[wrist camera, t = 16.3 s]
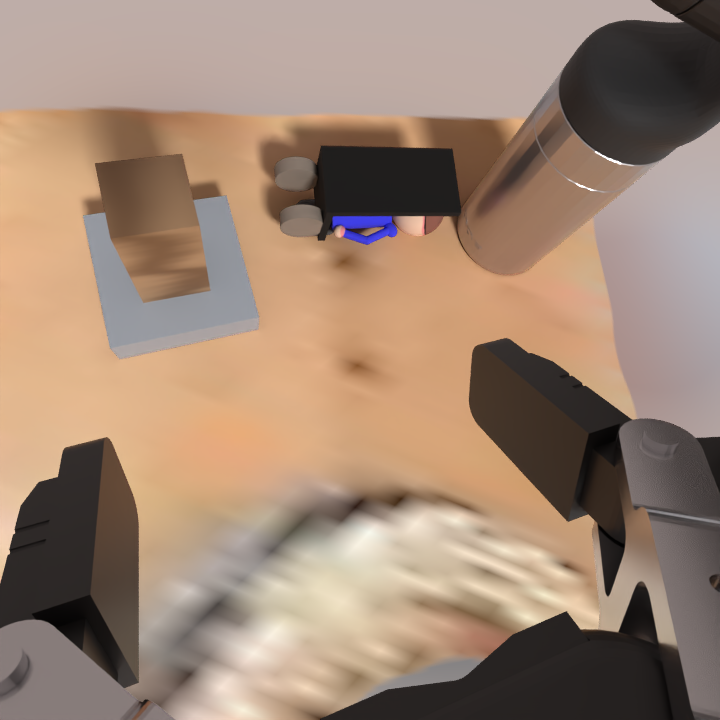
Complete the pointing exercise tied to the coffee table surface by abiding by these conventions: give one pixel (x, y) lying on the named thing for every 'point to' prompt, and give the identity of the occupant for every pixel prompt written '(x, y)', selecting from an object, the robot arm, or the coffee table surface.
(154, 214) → the walnut block
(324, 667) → the coffee table surface
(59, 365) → the coffee table surface
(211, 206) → the blue-grey square slab
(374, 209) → the figurine character
